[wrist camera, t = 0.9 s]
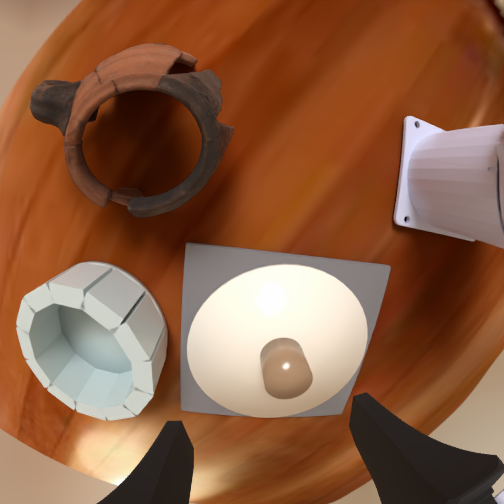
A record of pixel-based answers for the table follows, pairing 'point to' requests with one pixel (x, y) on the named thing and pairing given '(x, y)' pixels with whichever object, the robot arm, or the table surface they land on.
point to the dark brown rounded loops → (129, 79)
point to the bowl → (95, 339)
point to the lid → (277, 340)
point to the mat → (240, 260)
